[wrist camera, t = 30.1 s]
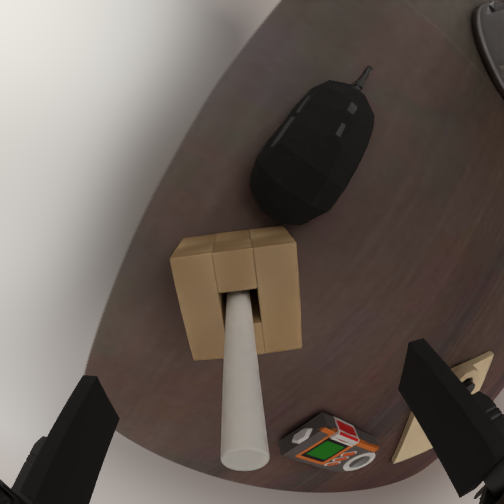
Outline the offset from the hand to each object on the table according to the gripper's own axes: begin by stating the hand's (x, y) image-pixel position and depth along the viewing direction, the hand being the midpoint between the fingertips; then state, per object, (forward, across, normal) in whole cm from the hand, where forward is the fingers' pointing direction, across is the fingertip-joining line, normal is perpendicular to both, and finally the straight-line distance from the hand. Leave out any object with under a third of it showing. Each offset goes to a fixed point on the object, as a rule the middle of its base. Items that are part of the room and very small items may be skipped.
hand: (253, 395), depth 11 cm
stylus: (+13, -1, 0) cm, 13 cm away
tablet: (+13, +25, -26) cm, 39 cm away
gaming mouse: (+13, +7, +10) cm, 18 cm away
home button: (+11, +25, -19) cm, 33 cm away
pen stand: (+13, -1, 0) cm, 13 cm away
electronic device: (+13, +8, -24) cm, 29 cm away
